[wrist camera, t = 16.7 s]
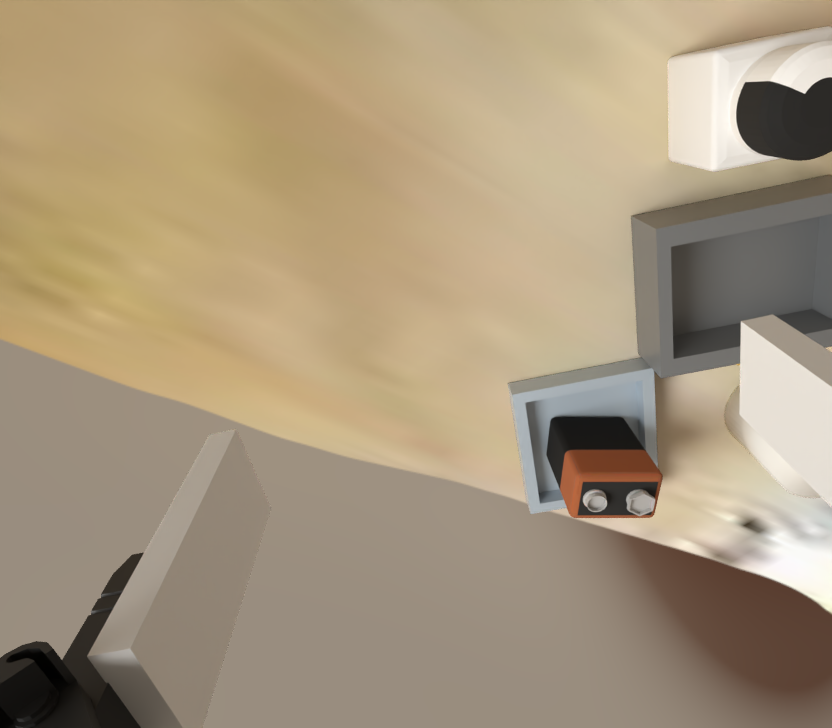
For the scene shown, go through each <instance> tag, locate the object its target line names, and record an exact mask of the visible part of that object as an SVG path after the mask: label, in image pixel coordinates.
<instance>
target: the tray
mask: <svg viewBox="0 0 832 728" xmlns="http://www.w3.org/2000/svg"><path fill="white" fill-rule="evenodd" d="M508 387H509V393H510V400H511V406H512V412H513V419H514V425H515V431H516V438H517V444H518V450H519V457H520V463H521V469H522V476H523V482H524V488H525V495H526V500H527V504H528V507H529V510H530V513H531V514H534V513H540V512H545V511H551V510H557V509H562V508H567V506H566V504H565V501H564V499H563V496H562V494H561V491H560V489H559V486H558V484H557V481H556V479H555V476H554V474H553V471H552V468H551V466H550V463H549V461H548V458H547V456H546V452H547V444H548V435H549V427H550V421H551V419H552V418H554V417H622V418H623V419H624V420H625V421H626V422H627V424H628V425H629V427H630V428H631V430H632V431H633V433H634V434H635V435H636V437H637V438H638V440H639V441H640V443H641V444H642V446H643V447H644V449H645V450H646V452H647V453H648V455H649V456H650V457H651V459H652V460H653V462H654V463H655V465H656V466H657V468H658V459H657V433H656V408H655V382H654V370H653V369H652V368H651V367H650V366H649V365H648V363H647V362H646V361H645V360H644V359H643V358H637V359H632V360H627V361H621V362H616V363H611V364H606V365H600V366H595V367H590V368H585V369H580V370H574V371H569V372H564V373H559V374H553V375H548V376H543V377H538V378H533V379H527V380H522V381H517V382H512V383H508Z"/></svg>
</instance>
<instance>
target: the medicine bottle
mask: <svg viewBox="0 0 832 728" xmlns="http://www.w3.org/2000/svg"><path fill="white" fill-rule="evenodd" d="M667 64H668V155H669V160H670V161H671V162H675V163H679V164H684V165H688V166H692V167H696V168H700V169H704V170H709V171H713V172H716V171H721V170H726V169H731V168H736V167H741V166H746V165H751V164H756V163H761V162H766V161H771V160H776V159H781V158H783V159H790V160H800V161H801V160H810V159H814V158H817V157H820V156H823V155H825V154H827V153H829V152H831V151H832V27H831V26H825V27H819V28H813V29H808V30H802V31H796V32H790V33H784V34H778V35H772V36H766V37H761V38H757V39H752V40H747V41H743V42H738V43H733V44H728V45H724V46H719V47H714V48H710V49H705V50H700V51H695V52H691V53H686V54H681V55H677V56H673V57H671V58H670V59H669V60H668V63H667Z"/></svg>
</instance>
